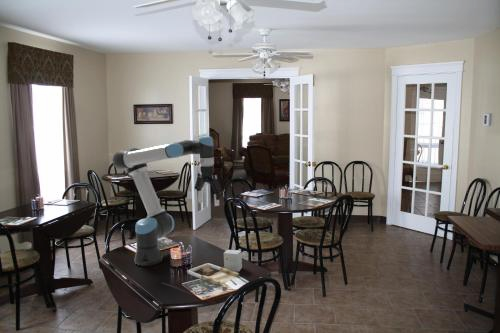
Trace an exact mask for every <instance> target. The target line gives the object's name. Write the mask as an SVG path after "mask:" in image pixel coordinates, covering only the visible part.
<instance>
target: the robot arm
mask: <svg viewBox="0 0 500 333" xmlns="http://www.w3.org/2000/svg"><path fill="white" fill-rule="evenodd" d="M188 155H199V165H200V167H199V169H200V170H199V171H200V172H198V173H197V177H196V181H195V184H194V190H196V194H197V202H198V203H199V204H200V203H203V202H204V199H203V198H204V197H203V187H204V185H205V184H206V183H207V184H209V185H210V187H211V188H212V189H213V192H214V194H213V198H214V207H218V206H220V198H221V196H220V194H221V193H223V190H222V186H221V184H220V181H219V176H218V174H214V172H215V166H214V165H215V159H214V158H215V157H214V139H213V137H212V136H200V137H199V138H198V140H193V139H192V140H188V139H184V140H180V141H178V142H177V141H176V142H171V143H167V144H163V145H157V146H152V147H148V148H143V149H142V148H139V147H133V148H127V149H122V150H121V149H120V150H118V151H117V152H115V153H114V154H113V156H112V164H113V166H114V168H115V169H117V170H119V171H126V172H127V174H128V175H129V176H131V178H132V179H133V181H134V184H135V187H136V189H137V191H138V193H139V197H140V199H141V200H142V203H143V206H144V208H145V210H146V213H147V216H146V217H144V218H142V219H139V220H137V222H136V223H135V227H134V229H135V230H134V232H135V241H136V250H135V255H134V260H133V261H134V262H135V263H134V264H135V265H136V264H137V265H136V266H139V265H140V266H139V267H148V266H154V265H157V264H160V263H162V261H163V255H162V252H161V250H160V247H159V239H161V238H163V237H165V236H167V235H169V234H170V233H171V232H173V230H174V227H175V219H174V218H173V216H172V215H170V214H169V213H167V210H166V209H164V208H162V206H161V203H160V201H159V198H158V195H157V194H156V190H155V188H154V186H153V184H152V180H151V178H150V177H149V173H148V171H147V170H148V164H149V163H153V162H157V161H163V160H168V159H176V158H179V157H183V156H188Z"/></svg>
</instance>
